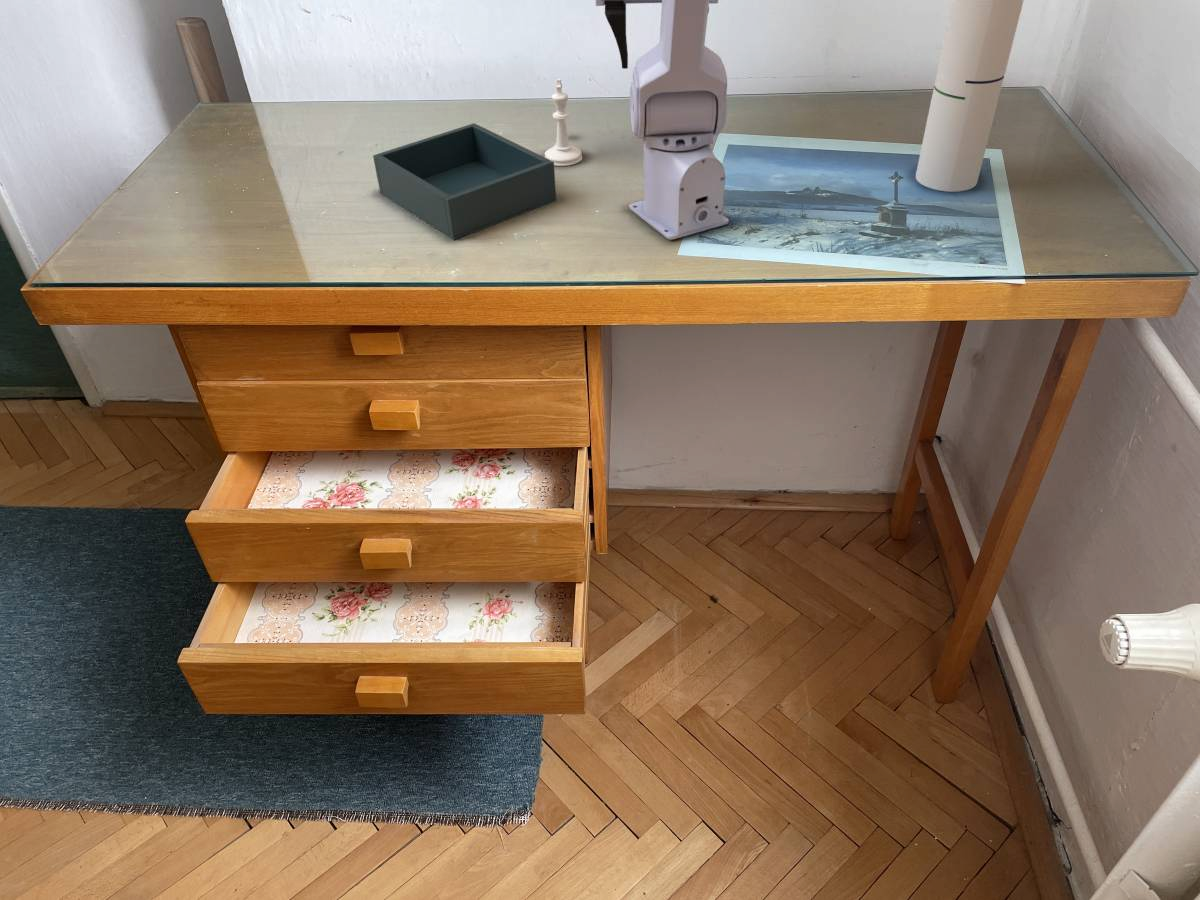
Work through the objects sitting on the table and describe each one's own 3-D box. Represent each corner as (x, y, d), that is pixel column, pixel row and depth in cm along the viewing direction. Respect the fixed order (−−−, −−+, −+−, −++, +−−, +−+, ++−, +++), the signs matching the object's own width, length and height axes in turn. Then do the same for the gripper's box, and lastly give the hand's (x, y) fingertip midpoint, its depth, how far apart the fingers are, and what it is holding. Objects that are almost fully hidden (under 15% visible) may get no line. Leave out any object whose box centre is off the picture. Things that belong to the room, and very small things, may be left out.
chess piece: (584, 150, 120) (581, 72, 114) (580, 166, 116) (576, 86, 110) (547, 150, 121) (542, 72, 114) (541, 165, 117) (536, 86, 110)
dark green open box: (556, 200, 109) (554, 161, 106) (453, 240, 102) (447, 200, 99) (478, 159, 119) (474, 122, 116) (379, 193, 112) (372, 155, 109)
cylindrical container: (980, 193, 107) (1041, -43, 91) (917, 189, 109) (966, -44, 92) (973, 168, 113) (1030, -59, 96) (913, 165, 114) (960, -60, 98)
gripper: (718, -66, 108) (712, 54, 116) (595, -64, 108) (598, 56, 117) (722, -52, 102) (715, 72, 111) (593, -49, 103) (596, 74, 112)
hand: (655, 65), depth 114 cm, fingers open, 7 cm apart
